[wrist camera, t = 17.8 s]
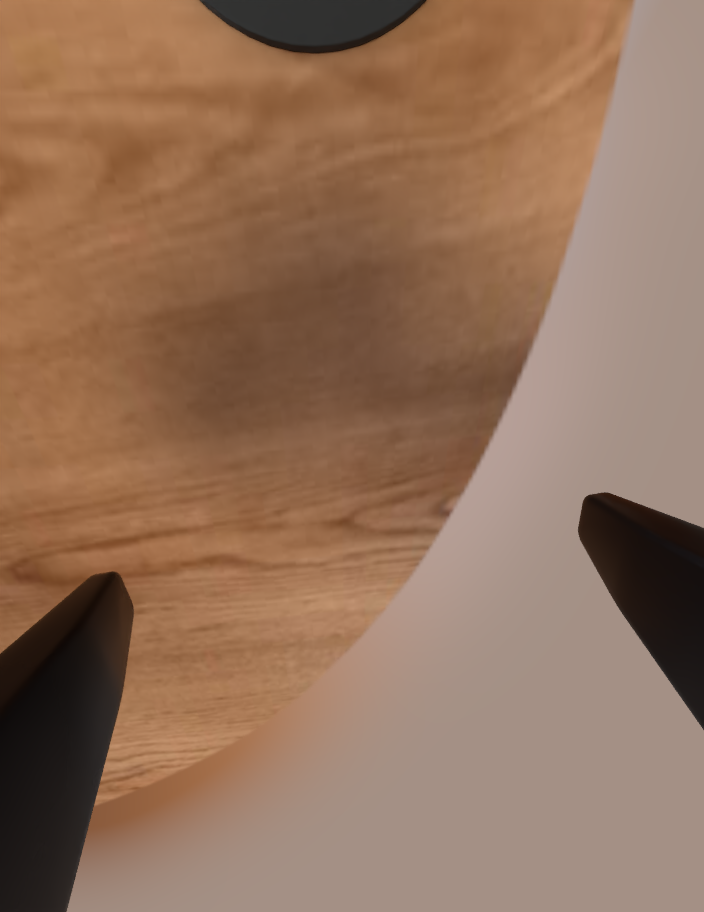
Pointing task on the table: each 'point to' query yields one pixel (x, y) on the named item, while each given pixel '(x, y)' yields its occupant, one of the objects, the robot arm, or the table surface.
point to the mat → (313, 21)
